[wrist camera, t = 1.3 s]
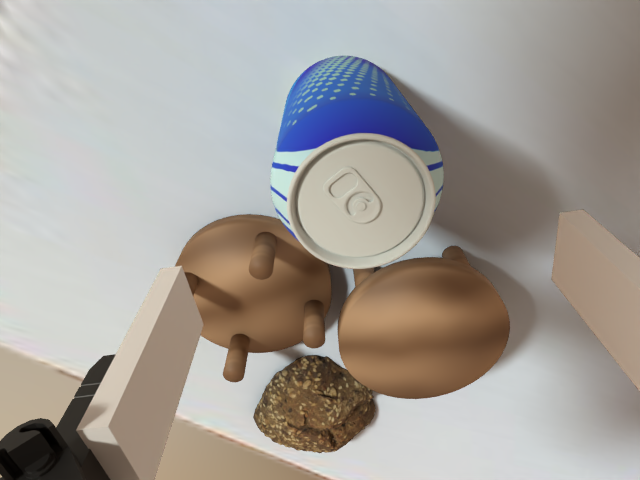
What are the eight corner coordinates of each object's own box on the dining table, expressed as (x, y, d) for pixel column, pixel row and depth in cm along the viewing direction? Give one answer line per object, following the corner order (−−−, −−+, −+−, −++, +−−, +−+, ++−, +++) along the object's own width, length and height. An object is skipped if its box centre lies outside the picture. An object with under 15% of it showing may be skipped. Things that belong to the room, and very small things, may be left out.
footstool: (324, 243, 39) (326, 284, 34) (487, 219, 38) (514, 258, 33) (346, 359, 46) (350, 407, 41) (483, 341, 45) (505, 388, 40)
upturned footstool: (144, 258, 40) (119, 300, 35) (279, 186, 37) (273, 220, 31) (235, 358, 46) (225, 406, 41) (357, 304, 43) (363, 350, 38)
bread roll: (240, 410, 51) (233, 450, 46) (298, 340, 45) (297, 378, 41) (334, 448, 54) (336, 489, 50) (398, 388, 49) (406, 427, 45)
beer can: (402, 52, 32) (471, 110, 18) (393, 165, 36) (444, 284, 22) (282, 53, 32) (258, 113, 18) (287, 166, 36) (271, 286, 22)
